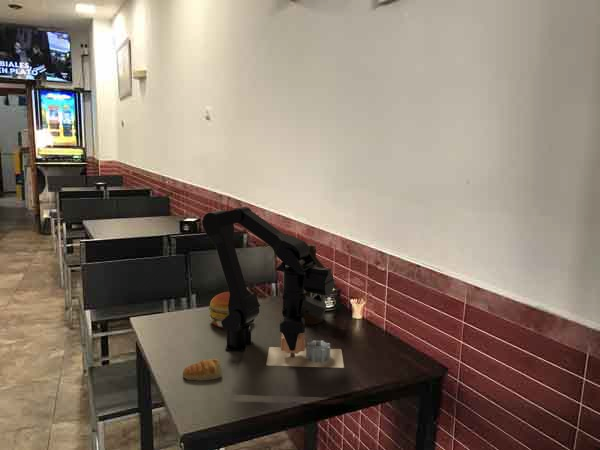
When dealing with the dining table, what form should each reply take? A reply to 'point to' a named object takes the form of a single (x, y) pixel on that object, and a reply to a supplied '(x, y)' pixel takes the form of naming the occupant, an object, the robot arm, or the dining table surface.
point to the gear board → (302, 359)
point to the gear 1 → (298, 348)
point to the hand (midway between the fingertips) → (292, 344)
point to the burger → (219, 308)
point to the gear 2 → (318, 351)
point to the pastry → (203, 370)
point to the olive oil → (310, 318)
